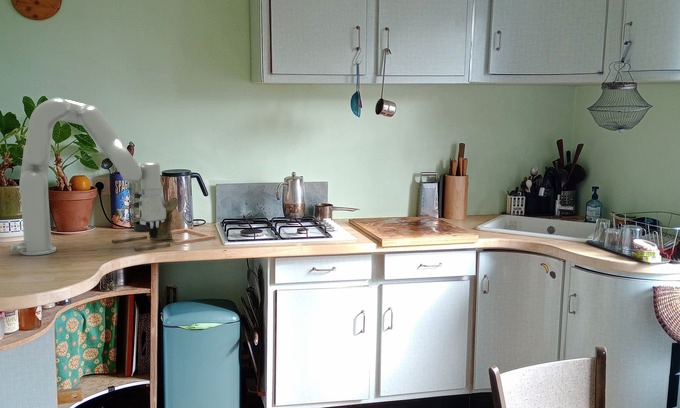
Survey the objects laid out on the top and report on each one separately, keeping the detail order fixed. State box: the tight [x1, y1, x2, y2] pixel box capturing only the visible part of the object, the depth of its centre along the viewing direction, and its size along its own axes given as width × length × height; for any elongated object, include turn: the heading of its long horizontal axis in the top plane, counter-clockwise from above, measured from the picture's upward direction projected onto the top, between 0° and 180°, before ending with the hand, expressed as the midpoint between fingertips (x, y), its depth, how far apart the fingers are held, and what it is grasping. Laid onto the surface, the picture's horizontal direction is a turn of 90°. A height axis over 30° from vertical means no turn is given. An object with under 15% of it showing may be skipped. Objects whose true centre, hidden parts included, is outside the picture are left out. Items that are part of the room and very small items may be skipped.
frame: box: [171, 227, 216, 246], centre depth 288 cm, size 18×22×1 cm
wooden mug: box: [148, 197, 180, 241], centre depth 281 cm, size 9×14×18 cm, turn 47°
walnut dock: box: [111, 234, 171, 253], centre depth 275 cm, size 14×22×1 cm, turn 44°
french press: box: [128, 179, 153, 233], centre depth 302 cm, size 12×9×23 cm
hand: (153, 237), depth 278 cm, fingers closed
